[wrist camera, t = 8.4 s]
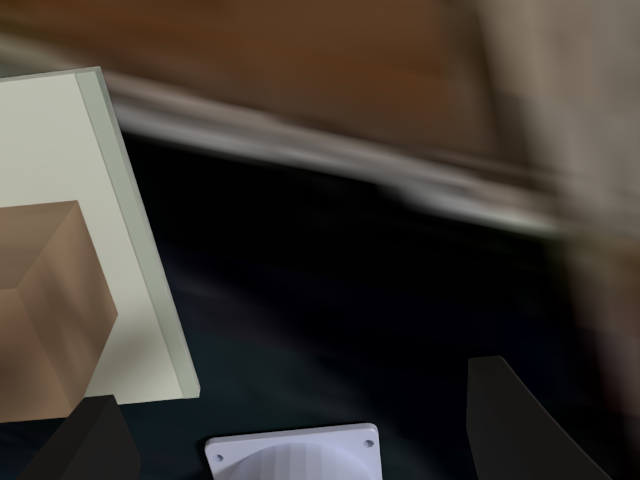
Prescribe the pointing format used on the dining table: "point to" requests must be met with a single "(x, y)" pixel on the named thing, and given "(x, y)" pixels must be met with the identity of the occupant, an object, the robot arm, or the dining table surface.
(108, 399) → the robot arm
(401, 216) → the dining table surface
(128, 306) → the cream tray
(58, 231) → the walnut cube
